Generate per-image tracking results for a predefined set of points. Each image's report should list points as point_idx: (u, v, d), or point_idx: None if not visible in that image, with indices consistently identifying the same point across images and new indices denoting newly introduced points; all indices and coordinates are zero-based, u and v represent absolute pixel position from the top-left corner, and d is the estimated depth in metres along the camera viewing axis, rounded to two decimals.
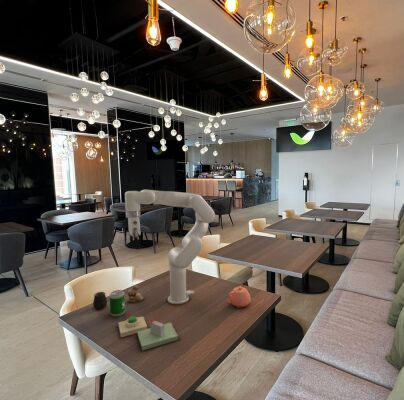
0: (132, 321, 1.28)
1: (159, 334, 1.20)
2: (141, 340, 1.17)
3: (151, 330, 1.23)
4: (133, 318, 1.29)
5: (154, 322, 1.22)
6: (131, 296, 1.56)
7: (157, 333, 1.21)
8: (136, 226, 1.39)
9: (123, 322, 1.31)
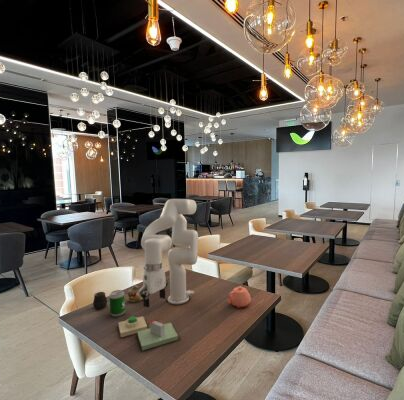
0: (132, 321, 1.28)
1: (159, 334, 1.20)
2: (141, 340, 1.17)
3: (151, 330, 1.23)
4: (133, 318, 1.29)
5: (154, 322, 1.22)
6: (131, 296, 1.56)
7: (157, 333, 1.21)
8: (146, 282, 1.16)
9: (123, 322, 1.31)
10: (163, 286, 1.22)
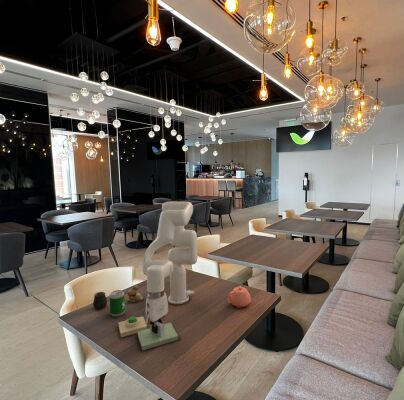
0: (132, 321, 1.28)
1: (159, 334, 1.20)
2: (141, 340, 1.17)
3: (151, 330, 1.23)
4: (133, 318, 1.29)
5: None
6: (131, 296, 1.56)
7: (157, 333, 1.21)
8: (148, 310, 1.16)
9: (123, 322, 1.31)
10: (165, 312, 1.22)
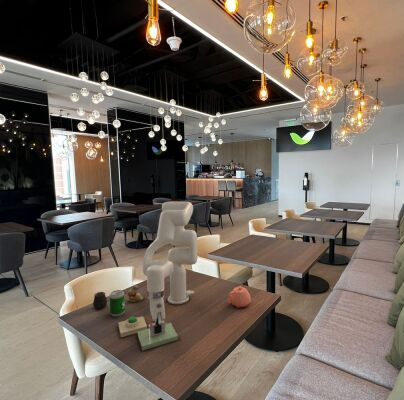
0: (132, 321, 1.28)
1: (163, 331, 1.23)
2: (141, 340, 1.17)
3: (152, 334, 1.20)
4: (133, 318, 1.29)
5: (154, 324, 1.21)
6: (131, 296, 1.56)
7: None
8: (160, 310, 1.17)
9: (123, 322, 1.31)
10: None
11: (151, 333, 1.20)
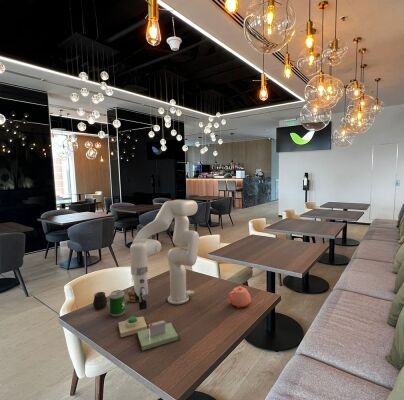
0: (132, 321, 1.28)
1: (163, 331, 1.23)
2: (141, 340, 1.17)
3: (152, 334, 1.20)
4: (133, 318, 1.29)
5: (154, 324, 1.21)
6: (131, 296, 1.56)
7: (160, 331, 1.22)
8: (143, 285, 1.20)
9: (123, 322, 1.31)
10: None
11: (151, 333, 1.20)
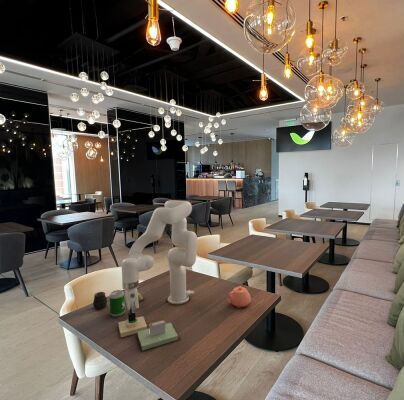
0: None
1: (163, 331, 1.23)
2: (141, 340, 1.17)
3: (152, 334, 1.20)
4: None
5: (154, 324, 1.21)
6: None
7: (160, 331, 1.22)
8: (134, 299, 1.24)
9: (123, 322, 1.31)
10: None
11: (151, 333, 1.20)
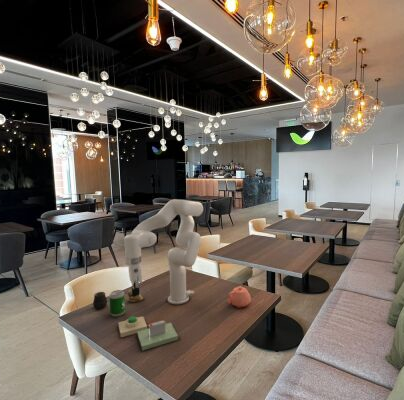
0: (132, 321, 1.28)
1: (163, 331, 1.23)
2: (141, 340, 1.17)
3: (152, 334, 1.20)
4: (133, 318, 1.29)
5: (154, 324, 1.21)
6: (131, 296, 1.56)
7: (160, 331, 1.22)
8: (137, 274, 1.26)
9: (123, 322, 1.31)
10: None
11: (151, 333, 1.20)
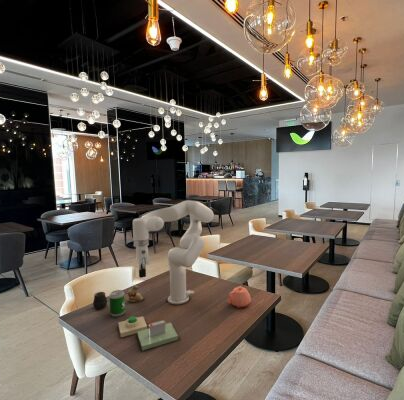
0: (132, 321, 1.28)
1: (163, 331, 1.23)
2: (141, 340, 1.17)
3: (152, 334, 1.20)
4: (133, 318, 1.29)
5: (154, 324, 1.21)
6: (131, 296, 1.56)
7: (160, 331, 1.22)
8: (144, 256, 1.32)
9: (123, 322, 1.31)
10: None
11: (151, 333, 1.20)
